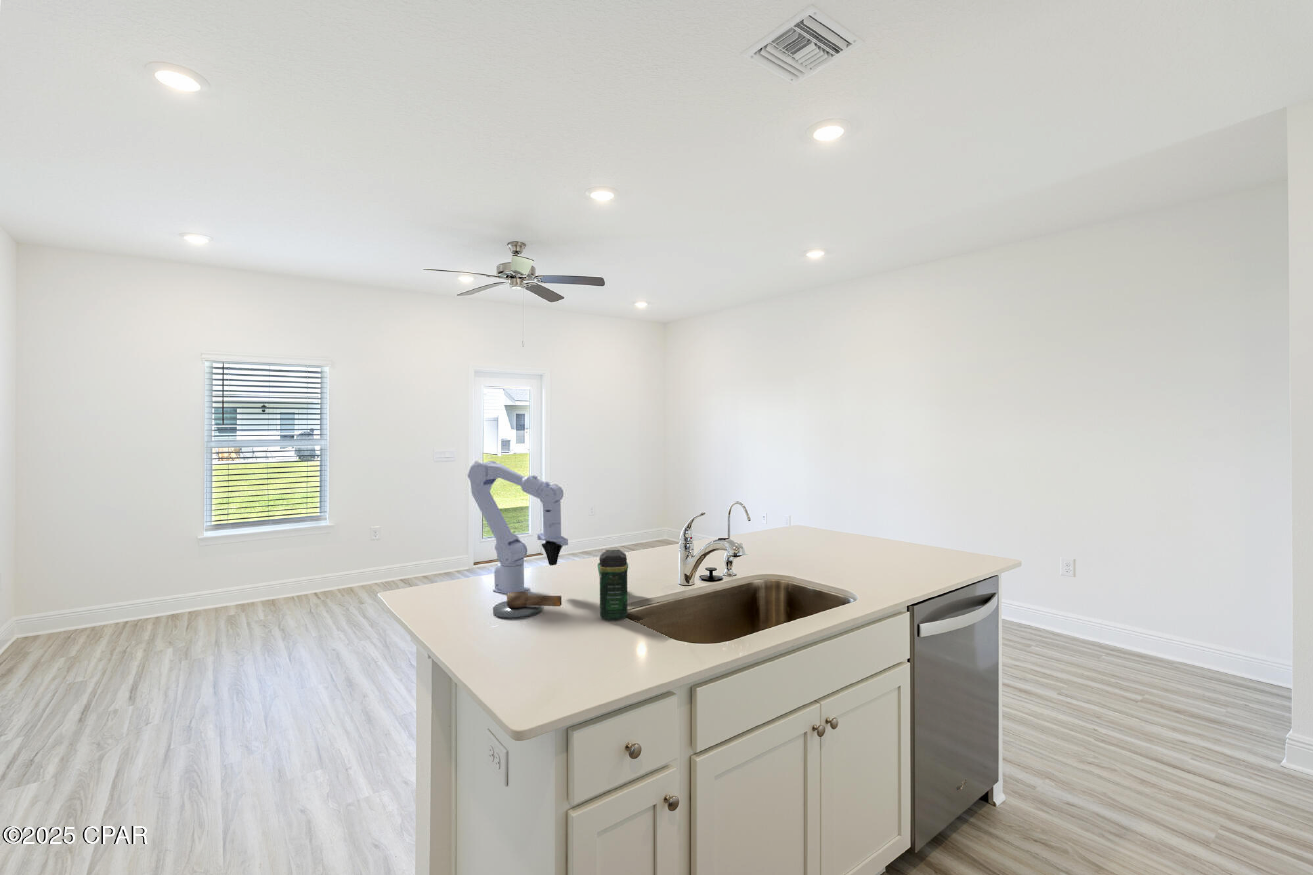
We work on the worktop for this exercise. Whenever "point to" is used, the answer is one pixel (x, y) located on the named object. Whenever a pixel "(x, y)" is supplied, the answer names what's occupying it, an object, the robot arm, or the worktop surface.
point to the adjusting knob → (531, 600)
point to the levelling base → (515, 611)
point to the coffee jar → (613, 585)
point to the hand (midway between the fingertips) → (552, 564)
